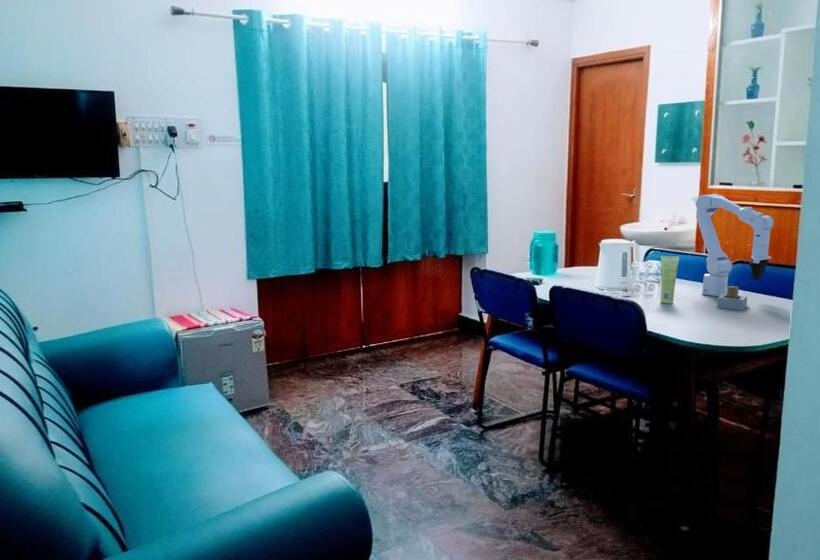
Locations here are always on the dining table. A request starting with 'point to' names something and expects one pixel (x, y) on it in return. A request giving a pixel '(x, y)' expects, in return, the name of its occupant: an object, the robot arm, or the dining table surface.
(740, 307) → the socket block
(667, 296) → the tube
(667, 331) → the dining table surface
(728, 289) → the peg
